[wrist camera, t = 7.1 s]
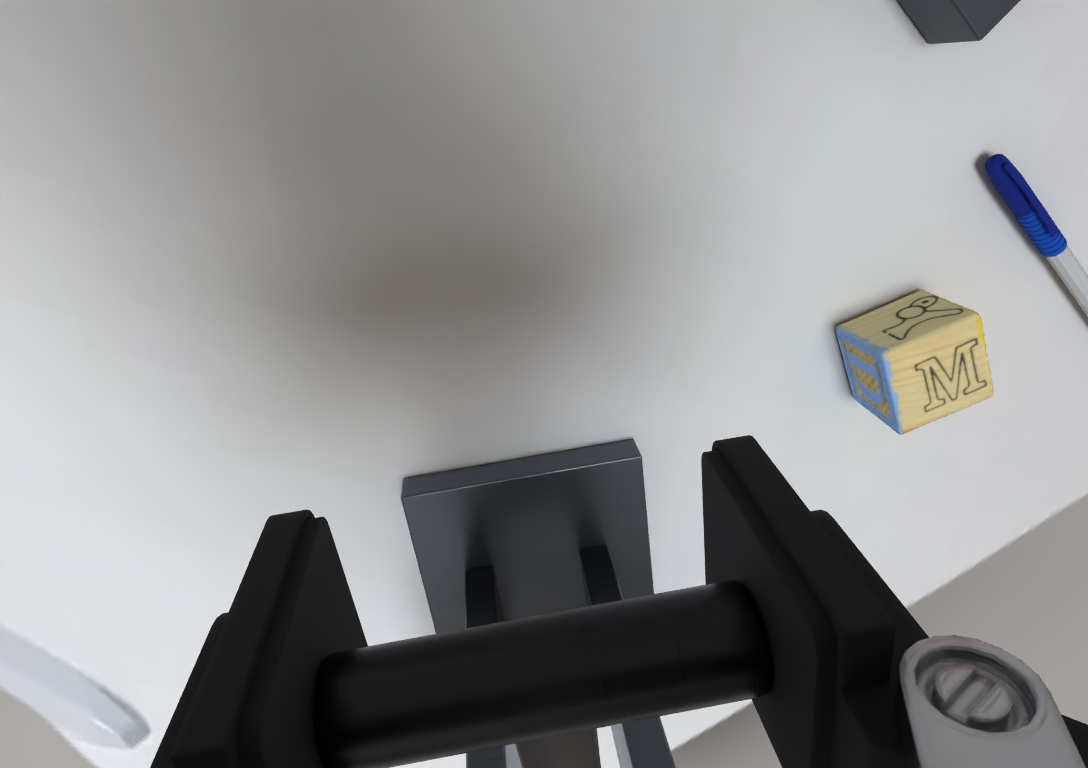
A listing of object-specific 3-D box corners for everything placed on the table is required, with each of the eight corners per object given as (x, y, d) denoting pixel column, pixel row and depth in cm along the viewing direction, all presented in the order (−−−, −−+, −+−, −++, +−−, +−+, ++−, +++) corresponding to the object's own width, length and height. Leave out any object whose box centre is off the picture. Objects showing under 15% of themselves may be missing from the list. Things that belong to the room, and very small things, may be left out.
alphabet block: (832, 322, 23) (882, 355, 20) (921, 284, 23) (984, 313, 20) (851, 398, 24) (900, 439, 22) (936, 363, 24) (997, 400, 22)
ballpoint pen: (969, 170, 21) (991, 175, 21) (992, 148, 21) (1016, 151, 20) (1123, 373, 25) (1148, 384, 24) (1145, 355, 25) (1171, 366, 24)
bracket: (402, 478, 24) (347, 862, 12) (633, 438, 24) (793, 776, 13) (462, 708, 28) (462, 1149, 17) (655, 672, 29) (787, 1078, 17)
